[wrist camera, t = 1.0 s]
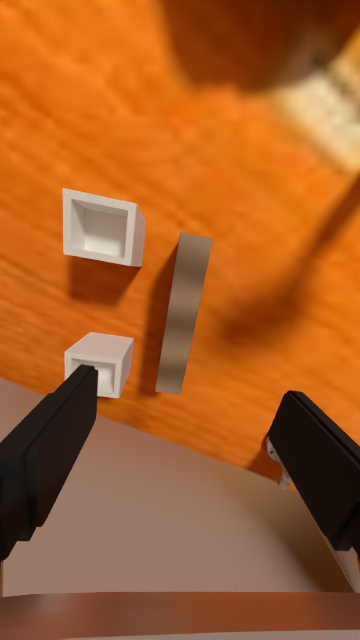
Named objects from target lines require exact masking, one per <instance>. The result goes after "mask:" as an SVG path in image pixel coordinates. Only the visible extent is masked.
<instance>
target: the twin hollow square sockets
mask: <svg viewBox="0 0 360 640" xmlns="http://www.w3.org/2000/svg"><path fill="white" fill-rule="evenodd" d="M145 232H146V220H145V218H144V216H143V215H142V213H141V211H140V209H139V207H138V205H137V204H136V203H131V202H127V201H122V200H117V199H112V198H108V197H103V196H98V195H94V194H89V193H84V192H80V191H75V190H70V189H65V188H63V250H64V254H67V255H72V256H78V257H84V258H89V259H95V260H100V261H106V262H111V263H117V264H122V265H128V266H139V267H142V259H143V250H144V241H145ZM133 342H134V338H129V337H122V336H115V335H108V334H101V333H94V332H90V333H88V334H87V335H86V336H85V337H83V338H82V339H81V340H79V341H78V342H77V343H75V344H74V345H73V346H72V347H70V348H69V349H68V350H66V351H65V380H66V379H67V378H68V377H69V376H70V375H71V374H72V373H73V372H74V371H75V369H76V368H77V367H78V366H79V365H81V364H83V365H91V366H94V367H95V369H97V370H98V391H97V396H103V397H112V398H119V396H120V394H121V391H122V389H123V387H124V384H125V382H126V379H127V377H128V374H129V372H130V370H131V360H132V351H133Z"/></svg>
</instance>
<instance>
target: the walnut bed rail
mask: <svg viewBox="0 0 360 640" xmlns="http://www.w3.org/2000/svg"><path fill="white" fill-rule="evenodd" d="M212 241H213V239H211V238H206V237H201V236H196V235H191V234H186V233H180V237H179V241H178V247H177V253H176V261H175V267H174V274H173V280H172V286H171V293H170V299H169V305H168V311H167V318H166V324H165V330H164V336H163V343H162V349H161V354H160V360H159V367H158V374H157V381H156V389H155V392H163V393H172V394H181V389H182V384H183V379H184V375H185V370H186V365H187V360H188V356H189V351H190V346H191V341H192V336H193V332H194V327H195V322H196V317H197V313H198V308H199V303H200V298H201V293H202V289H203V284H204V279H205V274H206V270H207V265H208V260H209V255H210V250H211V246H212Z"/></svg>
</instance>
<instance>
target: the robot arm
mask: <svg viewBox="0 0 360 640" xmlns="http://www.w3.org/2000/svg"><path fill="white" fill-rule="evenodd" d="M97 391H98V370H97V369H95V367H94V366H91V365H83V364H81V365H79V366H78V367H77V368H76V369H75V371H74V372H73V373H72V374H71V375H70V376H69V377H68V378H67V379H66V380H65V381H64V382H63V383H62V384H61V385H60V386H59V387H58V389H57V390H56V391H55V392H54V393H50V394H48V395H47V396H46V397H45V398H44V399H43V400H42V401H41V402H40V403H39V404H38V405H37V406H36V407H35V408H34V409H33V410H32V411H31V412H30V413H29V414H28V415H27V416H26V417H25V418H24V419H23V420H22V421H21V422H20V423H19V424H18V425H17V426H16V427H15V428H14V429H13V430H12V431H11V432H10V433H9V434H8V435H7V437H5V438H4V440H3V441H2V442H1V443H0V640H360V446H359V445H358V444H357V443H356V442H355V441H353V440H352V439H351V438H350V437H349V436H348V435H347V434H346V433H345V432H344V431H343V430H342V429H341V428H340V427H339V426H338V425H337V424H336V423H334V422H333V421H332V420H331V419H330V418H329V417H328V416H327V415H326V414H325V413H324V412H323V411H322V410H321V409H320V408H319V407H318V406H317V405H316V404H314V403H313V402H312V401H311V400H310V399H309V398H308V397H307V396H306V395H305V394H304V393H302V392H299V391H291V390H290V391H288V392H287V393H285V394H284V396H283V398H282V401H281V403H280V406H279V408H278V411H277V413H276V415H275V418H274V420H273V423H272V425H271V427H270V430H269V433H268V436H267V439H266V450H267V452H268V454H269V456H270V458H271V459H272V460H273V461H274V462H276V463H278V464H280V466H281V473H282V474H281V475H280V476H279V479H278V481H277V482H278V485H279V486H280V488H282V489H283V490H287V489H288V487H289V485H290V481H292V482H293V484H294V486H295V487H296V489H297V491H298V493H299V494H300V496H301V498H302V500H303V501H304V503H305V505H306V507H307V508H308V510H309V512H310V514H311V516H312V517H313V519H314V521H315V522H316V524H317V526H318V528H319V530H320V532H321V533H322V535H323V537H324V539H325V541H326V542H327V544H328V546H329V548H330V549H331V551H332V553H333V555H334V556H335V558H336V560H337V562H338V563H339V565H340V567H341V569H342V571H343V572H344V574H345V576H346V577H347V579H348V581H349V583H350V585H351V586H352V588H353V589H354V591H355V593H315V592H314V593H311V592H95V593H62V594H30V595H21V596H11V597H3V560H5V559H6V558H7V557H8V556H9V554H10V552H11V551H12V549H13V547H14V545H15V544H16V542H17V541H30V539H31V537H32V535H33V533H34V531H35V529H36V527H41V526H42V525H43V524H44V522H45V521H46V519H47V517H48V515H49V513H50V511H51V509H52V507H53V505H54V503H55V501H56V499H57V497H58V495H59V493H60V491H61V489H62V487H63V485H64V483H65V481H66V479H67V477H68V475H69V473H70V471H71V469H72V467H73V465H74V463H75V461H76V459H77V457H78V455H79V453H80V451H81V449H82V447H83V445H84V443H85V441H86V439H87V437H88V435H89V433H90V431H91V429H92V427H93V425H94V422H95V419H96V411H97Z"/></svg>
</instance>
